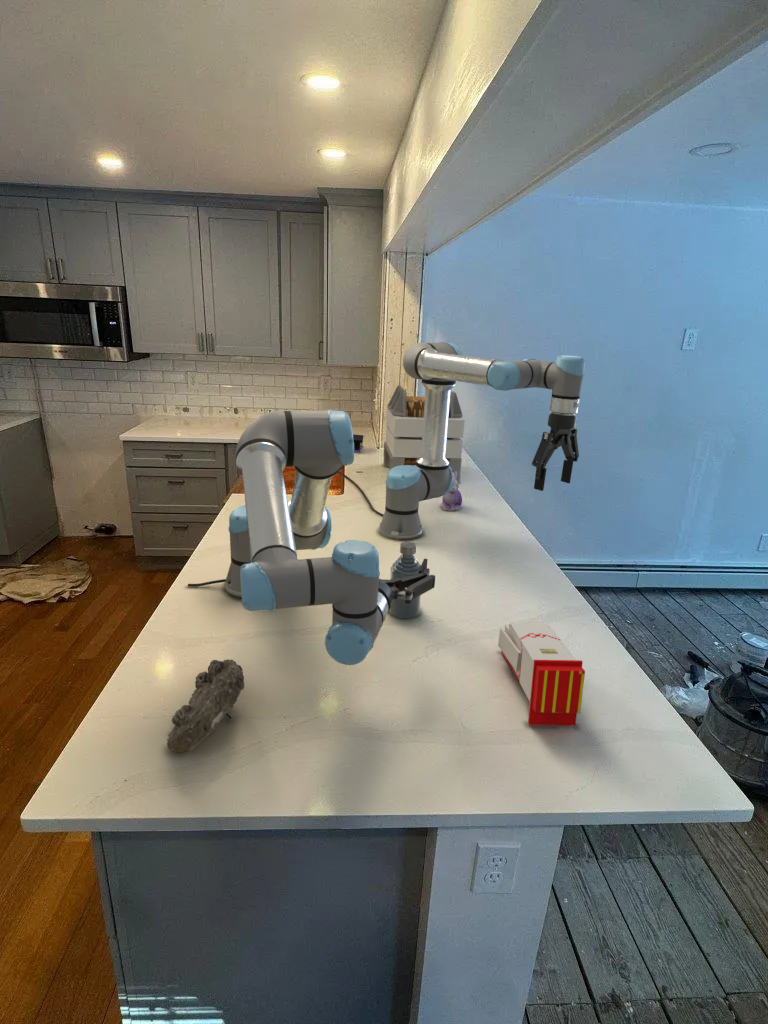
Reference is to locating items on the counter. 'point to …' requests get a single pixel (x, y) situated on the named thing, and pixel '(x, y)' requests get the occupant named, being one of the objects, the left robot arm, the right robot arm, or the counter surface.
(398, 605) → the bottle
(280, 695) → the counter surface
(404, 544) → the cap
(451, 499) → the figurine
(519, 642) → the toy
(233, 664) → the fossil
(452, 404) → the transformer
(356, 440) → the figurine character
